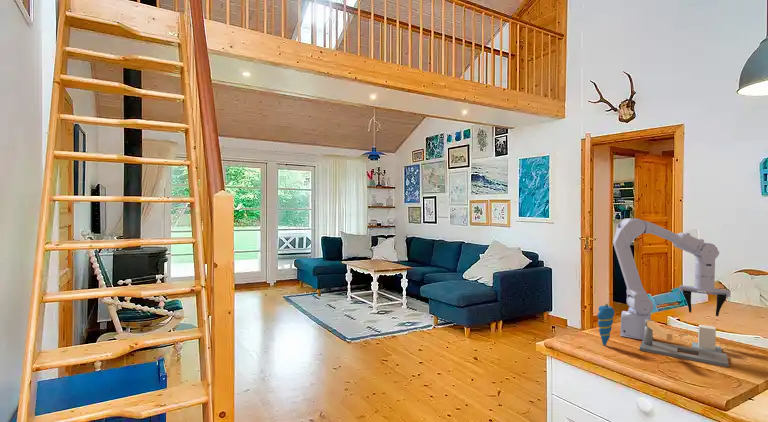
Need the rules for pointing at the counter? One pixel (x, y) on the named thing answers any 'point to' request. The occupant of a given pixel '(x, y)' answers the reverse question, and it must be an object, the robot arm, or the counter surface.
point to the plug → (706, 337)
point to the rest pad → (717, 349)
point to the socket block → (672, 350)
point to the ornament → (605, 322)
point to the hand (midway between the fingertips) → (703, 313)
